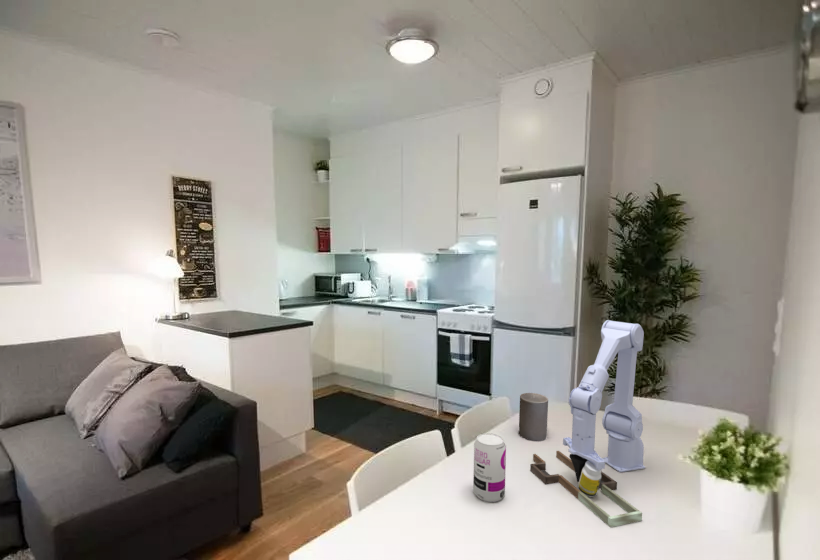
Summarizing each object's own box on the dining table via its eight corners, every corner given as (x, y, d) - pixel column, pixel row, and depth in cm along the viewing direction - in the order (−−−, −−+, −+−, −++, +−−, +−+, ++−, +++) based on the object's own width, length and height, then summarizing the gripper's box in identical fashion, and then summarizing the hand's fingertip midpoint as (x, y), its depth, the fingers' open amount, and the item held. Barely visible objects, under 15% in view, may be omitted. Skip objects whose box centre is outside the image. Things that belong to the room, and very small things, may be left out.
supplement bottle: (597, 500, 106) (604, 474, 103) (578, 495, 107) (585, 470, 104) (595, 486, 110) (602, 461, 107) (576, 481, 111) (583, 456, 109)
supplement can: (506, 488, 110) (507, 434, 109) (502, 506, 102) (504, 448, 102) (476, 483, 113) (477, 430, 112) (470, 499, 105) (471, 443, 104)
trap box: (569, 455, 129) (570, 449, 129) (655, 518, 98) (656, 510, 98) (520, 462, 125) (521, 455, 125) (595, 530, 94) (595, 522, 94)
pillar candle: (512, 432, 146) (513, 391, 145) (532, 427, 150) (533, 387, 149) (533, 443, 137) (534, 400, 136) (553, 437, 142) (554, 395, 141)
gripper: (554, 423, 116) (552, 469, 117) (589, 446, 102) (586, 499, 103) (575, 421, 118) (573, 467, 119) (612, 443, 104) (610, 495, 105)
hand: (581, 481), depth 111 cm, fingers closed, pressing on supplement bottle
